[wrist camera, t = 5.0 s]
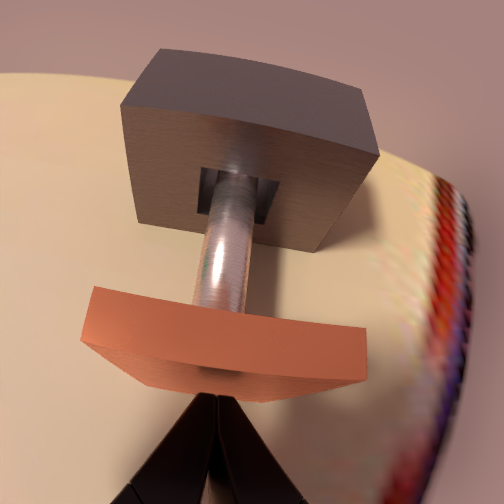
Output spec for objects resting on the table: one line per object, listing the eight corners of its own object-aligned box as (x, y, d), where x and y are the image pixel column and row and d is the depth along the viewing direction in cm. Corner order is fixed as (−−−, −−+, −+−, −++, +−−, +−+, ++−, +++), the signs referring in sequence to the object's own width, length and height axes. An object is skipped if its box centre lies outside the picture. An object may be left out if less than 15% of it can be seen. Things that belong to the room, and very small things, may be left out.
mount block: (313, 252, 18) (380, 155, 11) (138, 222, 17) (120, 105, 10) (312, 186, 21) (361, 89, 14) (160, 158, 20) (160, 48, 13)
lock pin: (261, 402, 13) (366, 380, 5) (146, 386, 12) (80, 340, 5) (278, 174, 19) (326, 45, 12) (197, 159, 19) (212, 21, 11)
